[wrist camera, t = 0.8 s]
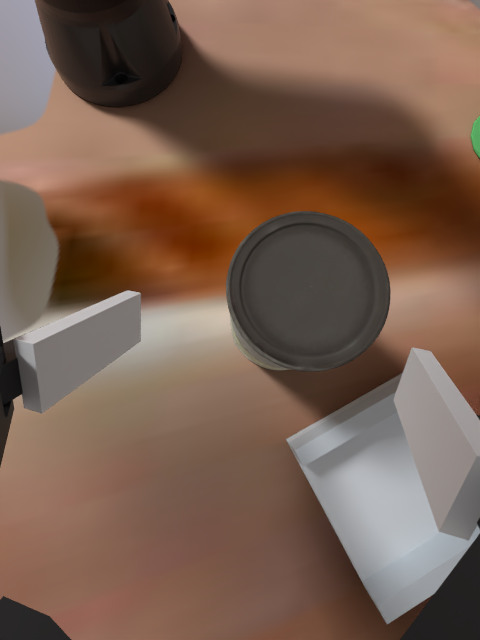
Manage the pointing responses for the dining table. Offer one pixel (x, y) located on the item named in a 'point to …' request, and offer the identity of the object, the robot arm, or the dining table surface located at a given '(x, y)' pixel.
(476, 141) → the cup
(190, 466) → the dining table surface
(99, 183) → the dining table surface
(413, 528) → the tray
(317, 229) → the coffee can
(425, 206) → the dining table surface
